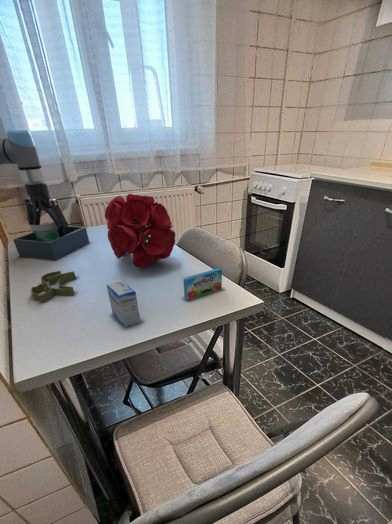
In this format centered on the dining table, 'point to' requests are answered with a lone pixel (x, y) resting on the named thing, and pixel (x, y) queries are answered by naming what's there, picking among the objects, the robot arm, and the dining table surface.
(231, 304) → the dining table surface
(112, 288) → the medicine box
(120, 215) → the bouquet
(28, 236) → the tote
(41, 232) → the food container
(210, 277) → the light blue food packet
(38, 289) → the cookie cutter
